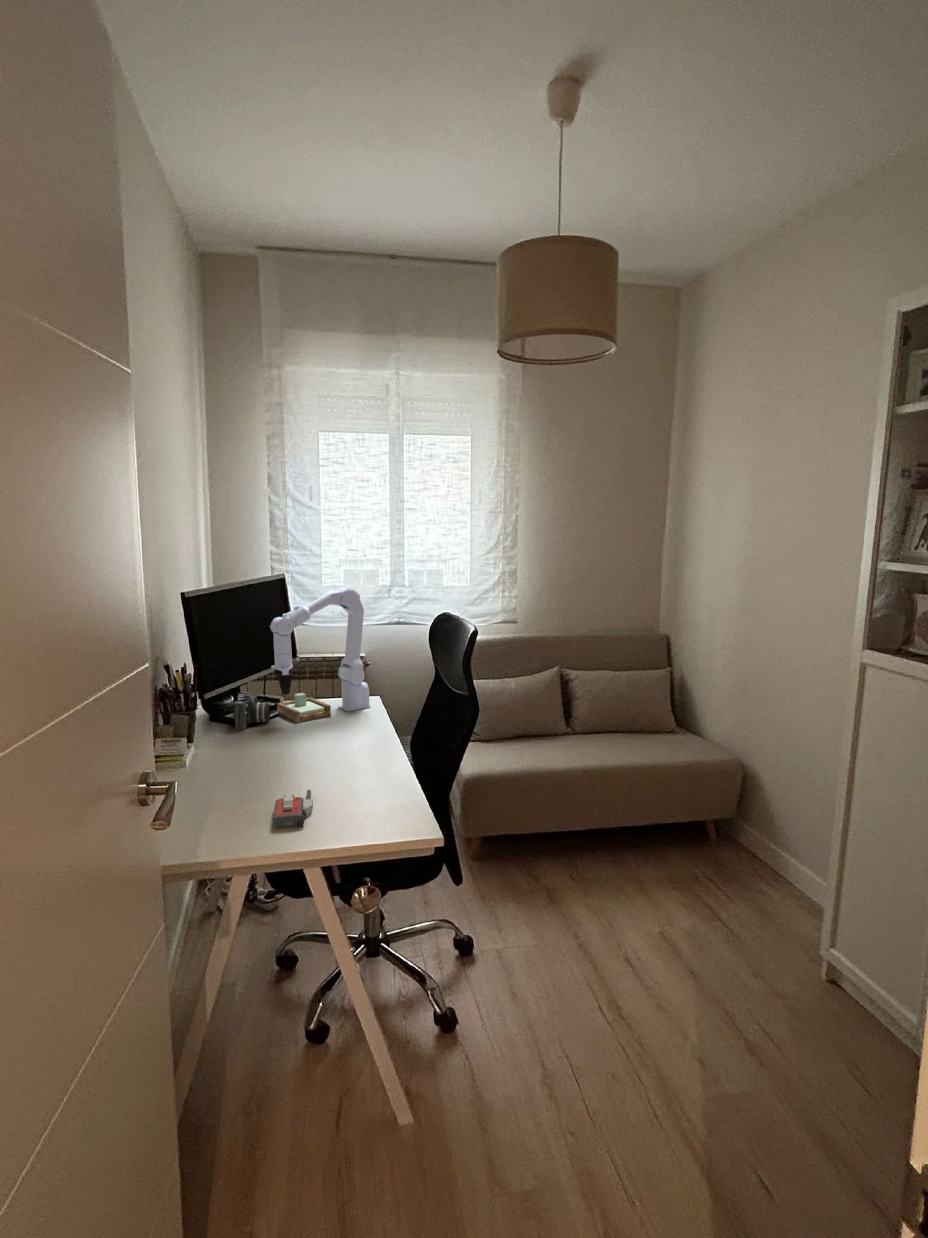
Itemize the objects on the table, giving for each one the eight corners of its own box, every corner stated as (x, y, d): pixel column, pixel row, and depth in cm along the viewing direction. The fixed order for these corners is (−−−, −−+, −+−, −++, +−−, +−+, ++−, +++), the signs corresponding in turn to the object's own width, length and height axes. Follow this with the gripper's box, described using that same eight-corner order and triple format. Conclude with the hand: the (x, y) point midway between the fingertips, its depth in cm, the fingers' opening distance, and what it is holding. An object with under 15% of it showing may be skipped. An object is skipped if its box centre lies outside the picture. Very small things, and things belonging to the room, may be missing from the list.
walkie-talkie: (312, 829, 161) (313, 795, 180) (311, 810, 160) (312, 778, 180) (271, 833, 159) (277, 798, 179) (270, 814, 158) (276, 781, 178)
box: (311, 707, 263) (310, 697, 262) (330, 716, 251) (330, 705, 250) (277, 713, 254) (277, 703, 254) (296, 723, 243) (296, 712, 242)
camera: (267, 729, 237) (265, 699, 235) (233, 731, 235) (231, 701, 233) (271, 717, 251) (270, 689, 249) (239, 719, 249) (237, 691, 247)
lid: (308, 703, 260) (308, 690, 259) (324, 710, 251) (324, 696, 250) (283, 708, 254) (282, 694, 253) (298, 715, 245) (297, 701, 244)
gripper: (269, 649, 249) (271, 687, 251) (272, 657, 236) (274, 697, 238) (290, 648, 252) (292, 686, 254) (294, 655, 238) (296, 695, 240)
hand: (284, 691), depth 246 cm, fingers open, 7 cm apart
